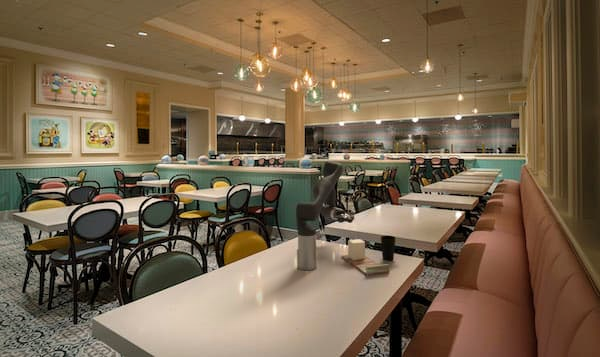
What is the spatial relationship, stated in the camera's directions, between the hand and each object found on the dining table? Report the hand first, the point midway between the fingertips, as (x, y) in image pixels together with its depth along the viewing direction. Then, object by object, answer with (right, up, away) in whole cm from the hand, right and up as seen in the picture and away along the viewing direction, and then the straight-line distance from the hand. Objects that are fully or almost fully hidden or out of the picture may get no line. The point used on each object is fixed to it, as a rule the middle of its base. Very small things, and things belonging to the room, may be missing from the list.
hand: (351, 220), depth 192 cm
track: (+5, -21, -13) cm, 25 cm away
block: (+2, -19, -5) cm, 20 cm away
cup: (+19, -20, -5) cm, 28 cm away
